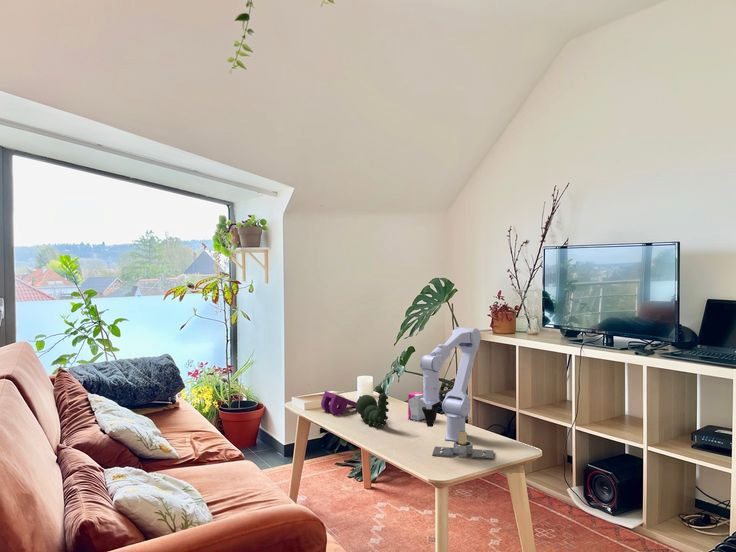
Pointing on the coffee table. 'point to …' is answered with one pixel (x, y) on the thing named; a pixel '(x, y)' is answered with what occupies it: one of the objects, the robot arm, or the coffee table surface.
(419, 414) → the supplement box
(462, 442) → the hinge pin
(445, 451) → the hinge
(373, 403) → the toy figurine
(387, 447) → the coffee table surface
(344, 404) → the mounting bracket
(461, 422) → the robot arm
